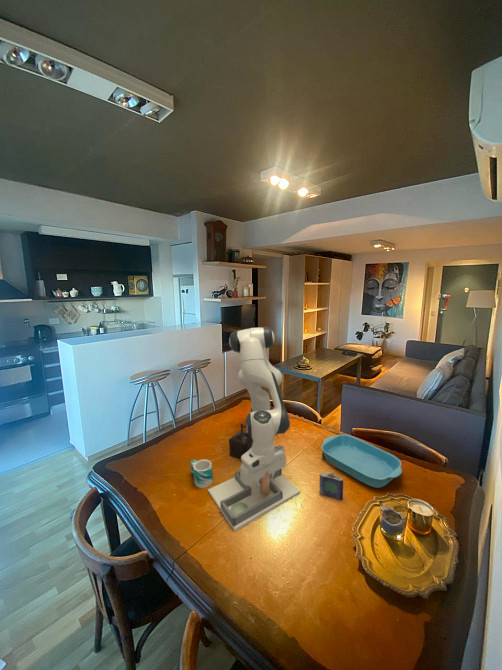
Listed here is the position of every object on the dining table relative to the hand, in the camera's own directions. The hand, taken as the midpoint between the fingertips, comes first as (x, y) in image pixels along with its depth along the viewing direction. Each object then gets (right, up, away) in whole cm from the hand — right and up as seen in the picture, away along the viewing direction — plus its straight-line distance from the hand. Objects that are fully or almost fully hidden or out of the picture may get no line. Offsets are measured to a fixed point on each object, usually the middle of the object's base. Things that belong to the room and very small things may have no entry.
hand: (264, 484), depth 109 cm
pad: (-10, -7, -5) cm, 13 cm away
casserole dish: (+45, -2, +19) cm, 49 cm away
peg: (0, -4, +1) cm, 4 cm away
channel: (-4, -6, +5) cm, 9 cm away
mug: (-28, -6, +14) cm, 32 cm away
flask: (+27, -6, +2) cm, 28 cm away
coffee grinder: (-8, -1, +34) cm, 35 cm away
